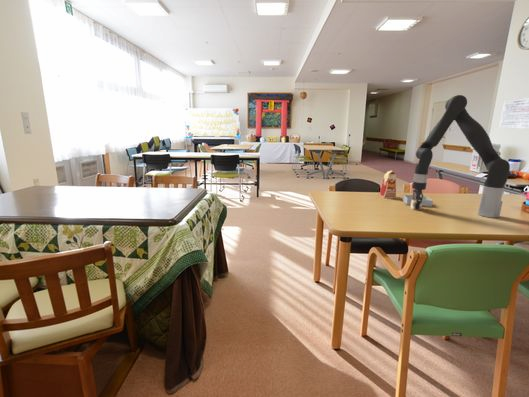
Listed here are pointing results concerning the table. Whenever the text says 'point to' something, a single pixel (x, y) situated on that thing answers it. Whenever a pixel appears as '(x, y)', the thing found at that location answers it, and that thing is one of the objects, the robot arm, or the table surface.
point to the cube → (413, 203)
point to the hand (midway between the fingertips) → (415, 207)
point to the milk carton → (389, 185)
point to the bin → (408, 198)
